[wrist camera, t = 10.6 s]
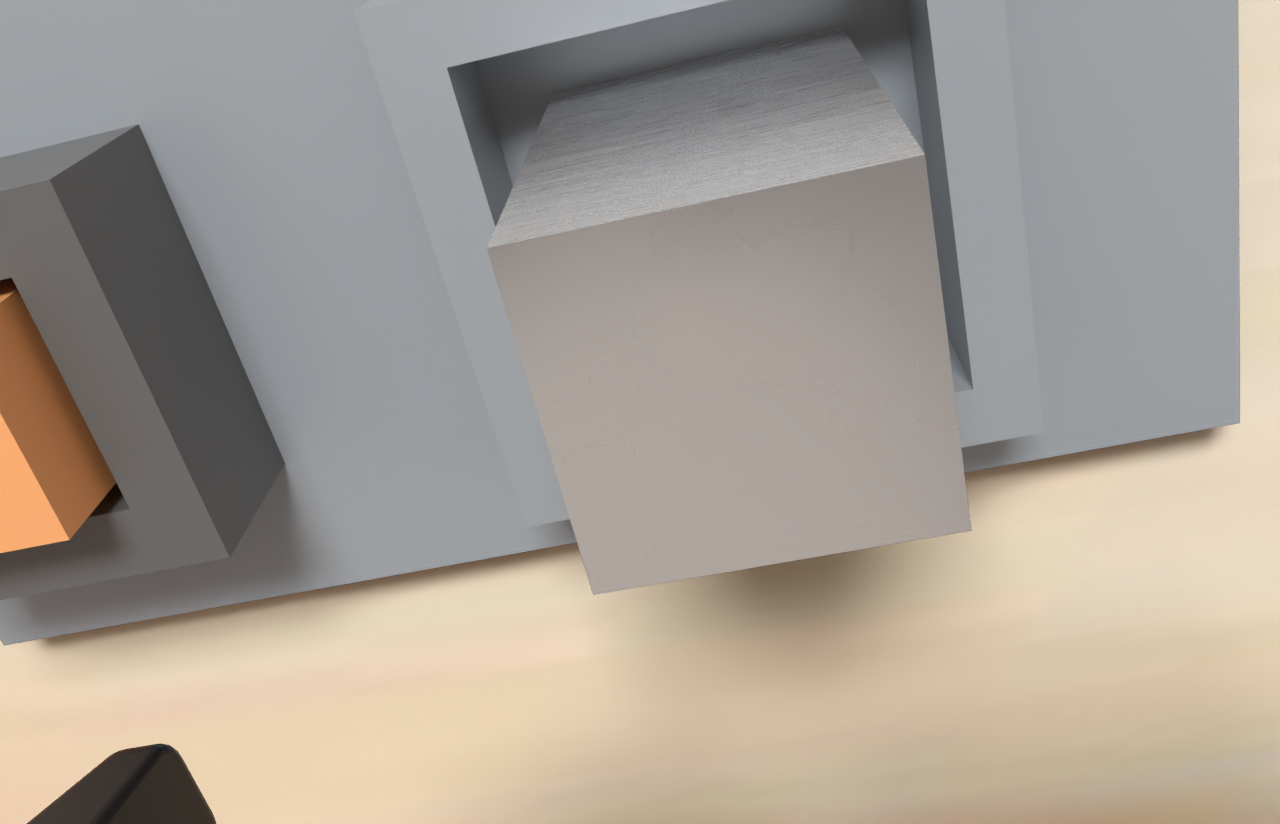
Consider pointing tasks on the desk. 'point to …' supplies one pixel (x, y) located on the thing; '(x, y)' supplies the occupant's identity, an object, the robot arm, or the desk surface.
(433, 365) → the gray socket fixture
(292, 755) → the desk surface
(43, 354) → the button
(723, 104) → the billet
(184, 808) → the robot arm
